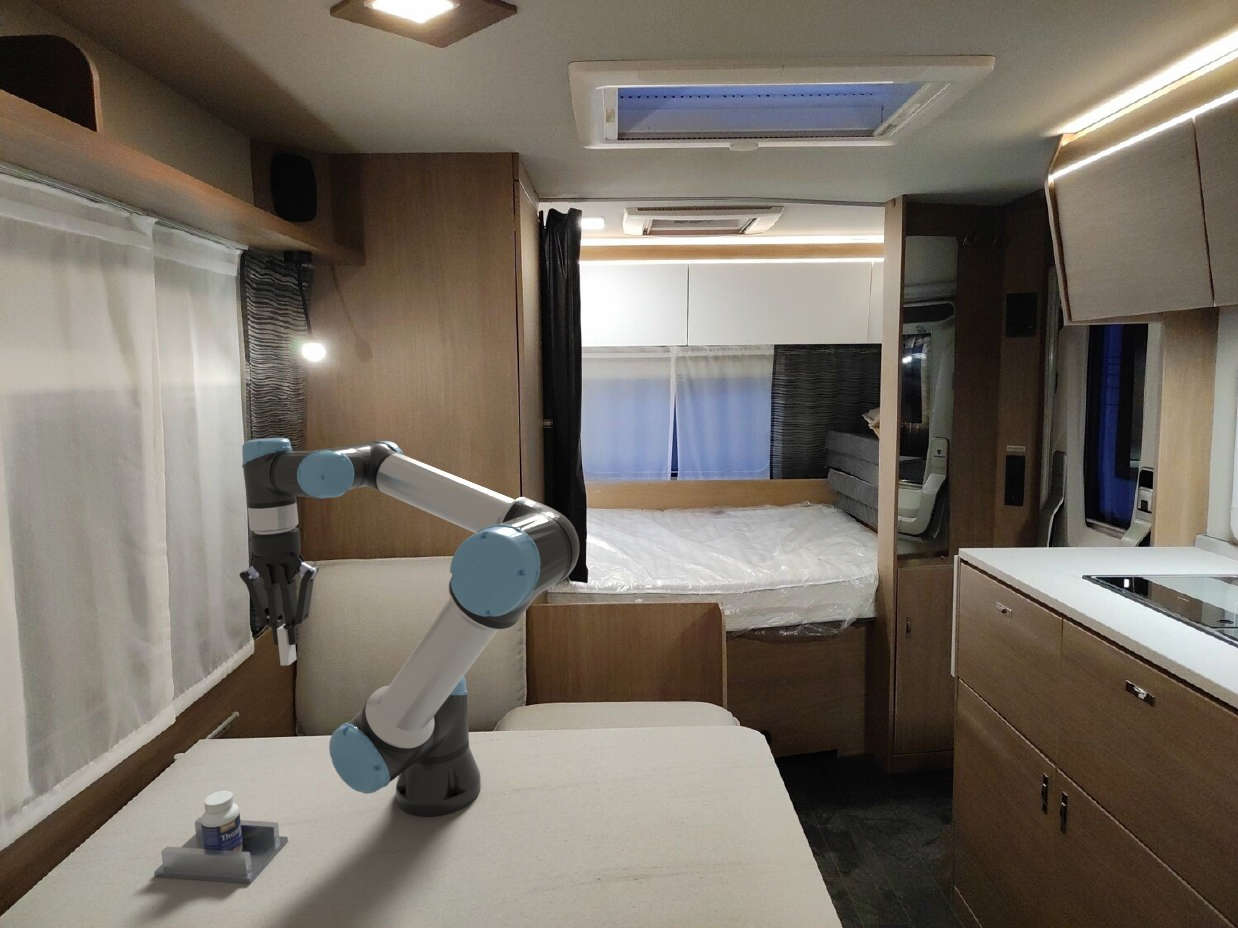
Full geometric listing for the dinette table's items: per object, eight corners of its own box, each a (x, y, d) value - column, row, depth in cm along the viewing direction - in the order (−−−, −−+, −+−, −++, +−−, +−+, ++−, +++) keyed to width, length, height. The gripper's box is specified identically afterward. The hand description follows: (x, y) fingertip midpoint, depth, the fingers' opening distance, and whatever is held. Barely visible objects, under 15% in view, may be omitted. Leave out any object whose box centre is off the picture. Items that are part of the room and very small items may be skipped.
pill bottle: (226, 867, 113) (221, 809, 112) (197, 863, 114) (191, 805, 113) (250, 844, 118) (245, 789, 117) (222, 841, 119) (216, 786, 118)
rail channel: (287, 841, 120) (286, 819, 120) (250, 883, 110) (248, 860, 110) (199, 835, 122) (197, 814, 122) (154, 876, 112) (152, 853, 112)
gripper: (322, 523, 127) (334, 652, 130) (249, 525, 127) (263, 654, 130) (302, 532, 119) (315, 670, 122) (224, 535, 120) (240, 671, 123)
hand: (288, 661), depth 126 cm, fingers closed
